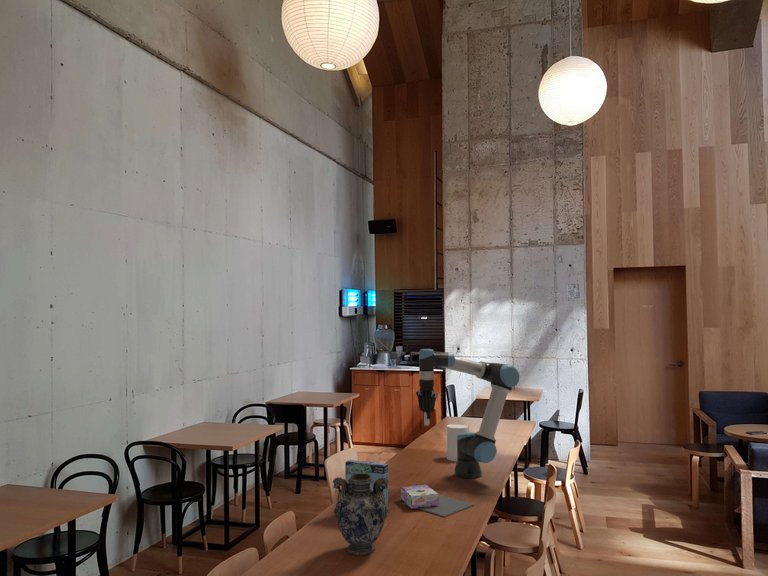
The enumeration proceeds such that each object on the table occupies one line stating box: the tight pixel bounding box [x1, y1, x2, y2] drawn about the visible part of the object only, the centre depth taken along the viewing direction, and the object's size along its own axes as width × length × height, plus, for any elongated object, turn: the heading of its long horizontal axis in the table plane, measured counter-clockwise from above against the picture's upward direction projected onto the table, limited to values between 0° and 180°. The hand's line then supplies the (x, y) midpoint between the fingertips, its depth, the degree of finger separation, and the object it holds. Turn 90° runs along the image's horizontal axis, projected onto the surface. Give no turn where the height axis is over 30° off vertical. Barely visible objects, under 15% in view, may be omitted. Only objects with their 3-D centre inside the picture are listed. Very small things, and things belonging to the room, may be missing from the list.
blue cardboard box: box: [344, 459, 389, 518], centre depth 267 cm, size 20×5×23 cm, turn 66°
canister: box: [446, 423, 470, 462], centre depth 366 cm, size 14×14×20 cm
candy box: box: [400, 484, 440, 510], centre depth 281 cm, size 14×6×16 cm
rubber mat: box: [401, 494, 475, 518], centre depth 279 cm, size 22×26×1 cm
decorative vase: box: [332, 474, 389, 556], centre depth 227 cm, size 21×19×28 cm
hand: (426, 425), depth 305 cm, fingers closed
